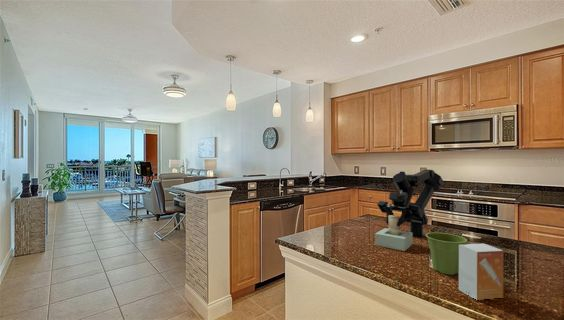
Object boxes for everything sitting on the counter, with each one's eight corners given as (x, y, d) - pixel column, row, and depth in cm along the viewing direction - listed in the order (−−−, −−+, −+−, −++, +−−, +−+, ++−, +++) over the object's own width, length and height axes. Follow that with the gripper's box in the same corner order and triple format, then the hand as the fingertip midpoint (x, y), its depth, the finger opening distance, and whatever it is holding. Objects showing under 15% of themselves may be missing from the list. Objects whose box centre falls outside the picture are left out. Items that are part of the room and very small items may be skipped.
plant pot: (476, 278, 82) (476, 242, 82) (437, 278, 83) (437, 242, 83) (452, 263, 94) (452, 232, 94) (419, 263, 95) (418, 232, 95)
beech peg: (388, 237, 119) (388, 214, 119) (399, 238, 117) (398, 215, 117) (388, 240, 114) (388, 217, 114) (400, 241, 113) (400, 217, 113)
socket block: (384, 238, 124) (384, 228, 124) (412, 243, 116) (412, 232, 116) (375, 245, 115) (375, 233, 115) (404, 251, 107) (404, 238, 107)
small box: (477, 301, 69) (477, 251, 69) (457, 289, 76) (457, 244, 75) (504, 299, 70) (504, 250, 70) (483, 287, 77) (483, 242, 77)
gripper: (379, 183, 125) (365, 210, 119) (419, 186, 111) (407, 217, 104) (388, 198, 130) (375, 224, 124) (428, 203, 116) (416, 233, 109)
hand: (392, 224), depth 115 cm, fingers closed on beech peg, 4 cm apart
